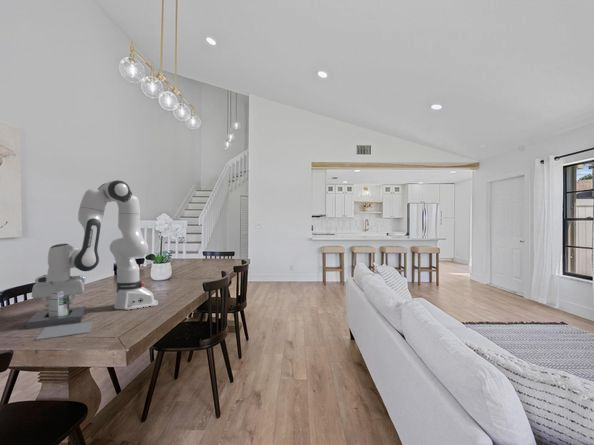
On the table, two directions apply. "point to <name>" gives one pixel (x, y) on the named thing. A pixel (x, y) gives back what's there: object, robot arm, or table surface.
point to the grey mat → (65, 330)
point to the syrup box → (58, 304)
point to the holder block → (56, 318)
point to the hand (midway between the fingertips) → (58, 305)
